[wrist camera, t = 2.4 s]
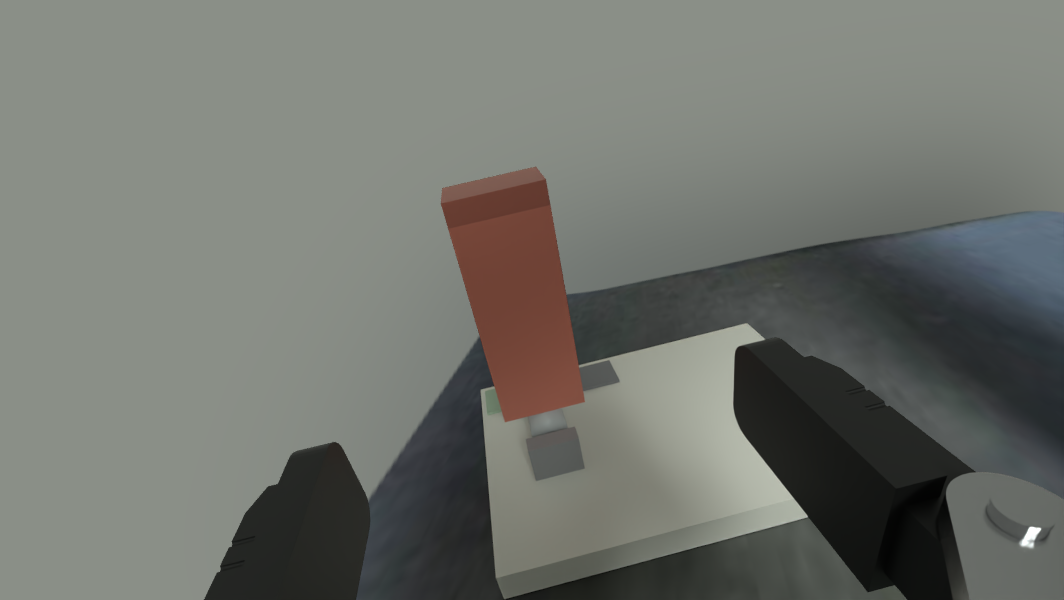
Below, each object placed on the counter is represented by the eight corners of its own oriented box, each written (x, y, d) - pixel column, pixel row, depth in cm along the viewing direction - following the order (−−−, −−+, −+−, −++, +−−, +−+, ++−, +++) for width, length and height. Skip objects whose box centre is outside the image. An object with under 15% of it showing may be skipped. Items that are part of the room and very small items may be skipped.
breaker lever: (577, 395, 26) (534, 164, 20) (592, 435, 23) (547, 181, 17) (507, 412, 26) (442, 185, 20) (513, 456, 23) (440, 206, 17)
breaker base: (746, 342, 30) (748, 296, 29) (902, 491, 20) (919, 432, 18) (486, 407, 30) (472, 364, 28) (504, 599, 19) (483, 547, 17)
